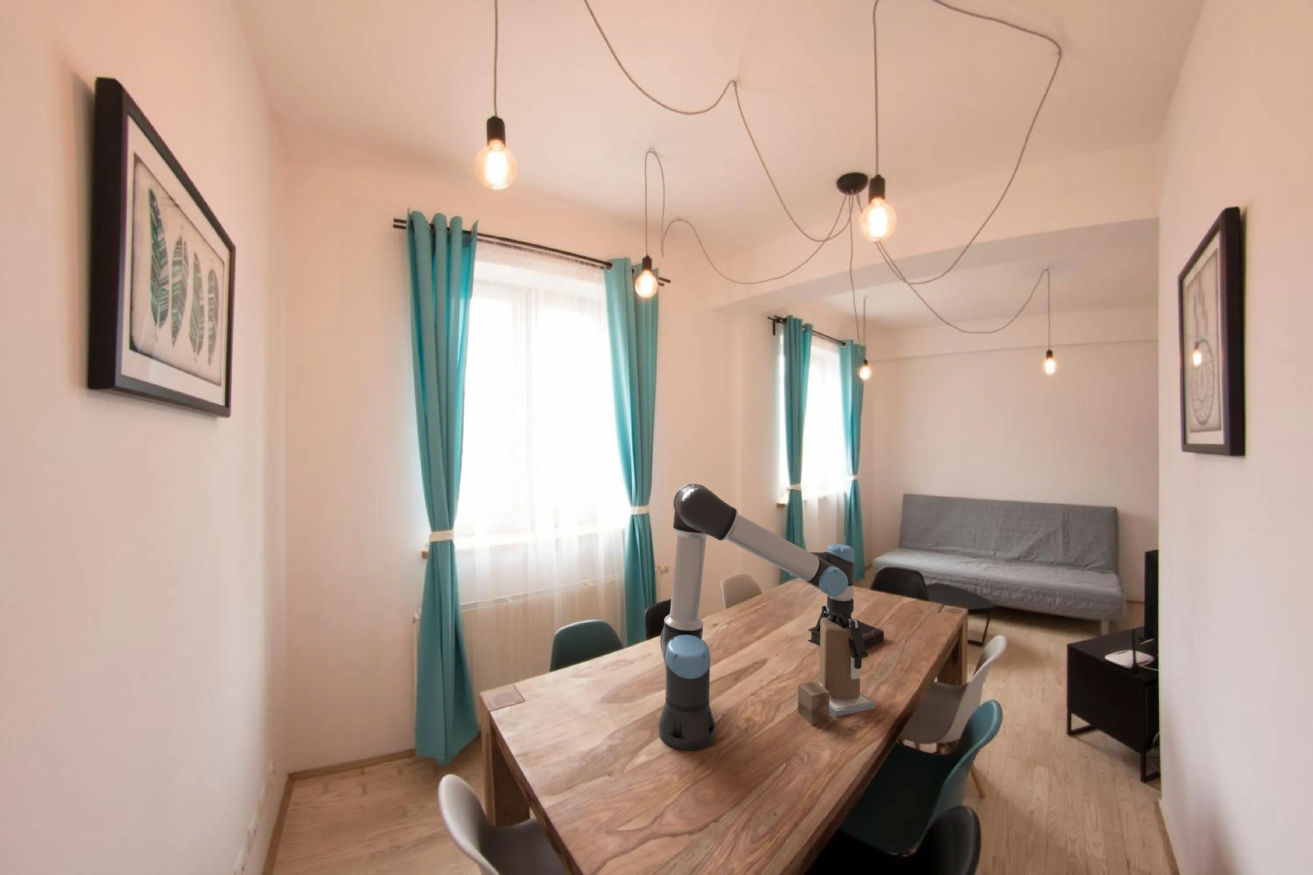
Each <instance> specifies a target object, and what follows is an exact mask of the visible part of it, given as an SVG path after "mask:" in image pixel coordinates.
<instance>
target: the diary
mask: <svg viewBox="0 0 1313 875" xmlns="http://www.w3.org/2000/svg"><path fill="white" fill-rule="evenodd" d="M852 620H855V619H854V618H852ZM859 622H860V630H861V633H862V637H863V640H864V644H865V647H866V650H867V649H870V648H871V647H873V646H875V645H877V644H879V643H881V642H884V639H885V633H884V630H883V629H880V628H877V627H875V626H872V625H871V624H867V623H864V622H862V621H860V620H859ZM815 627H816V626H814V627H811V628H808V629H807V631H809V632H811V633H810V635H811V636H810V639H808V640H807V642H809V643H812V644H814V645H816V646H819V647H820V635H819V632H818V631H816V630H815Z"/></svg>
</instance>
